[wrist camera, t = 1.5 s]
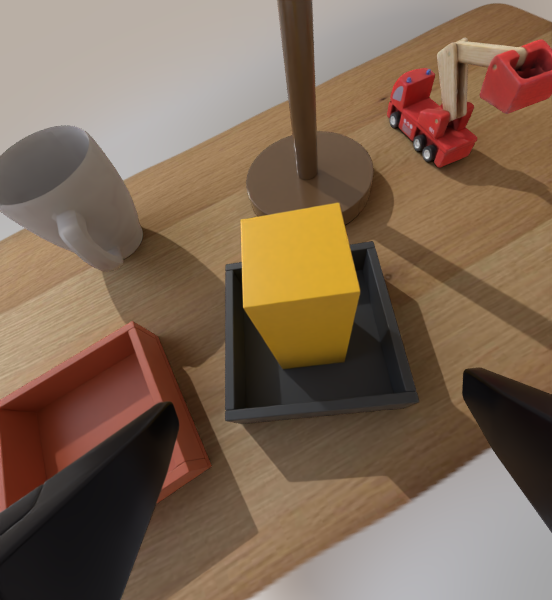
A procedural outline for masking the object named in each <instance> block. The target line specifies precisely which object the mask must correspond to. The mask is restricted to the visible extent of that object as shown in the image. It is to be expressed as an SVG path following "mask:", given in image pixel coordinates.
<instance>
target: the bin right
mask: <svg viewBox="0 0 552 600" xmlns="http://www.w3.org/2000/svg"><path fill="white" fill-rule="evenodd" d="M350 249H351V254H352V258H353V262H354V266H355V270H356V274H357V279H358V283H359V287H360V295H359V300H358V304H357V308H356V313H355V317H354V322H353V326H352V331H351V335H350V340H349V344H348V349H347V353H346V358H345V362H341V363H332V364H324V365H315V366H307V367H298V368H289V369H282V367H281V366H280V364H279V363H278V361H277V360H276V358H275V357H274V355H273V353H272V352H271V350H270V349H269V347H268V346H267V344H266V343H265V341H264V339H263V338H262V336H261V335H260V333H259V332H258V330H257V329H256V327H255V325H254V324H253V322H252V321H251V319H250V318H249V316H248V314H247V313H246V311H245V310H244V308H243V286H242V262H239V263H233V264H227V265H226V274H225V410H226V411H225V420H226V421H228V422H234V423H240V424H246V423H256V422H266V421H277V420H287V419H298V418H308V417H318V416H329V415H339V414H349V413H360V412H370V411H381V410H391V409H401V408H406V407H408V406H411V405H413V404H416V403H418V402H419V398H418V395H417V392H416V388H415V384H414V381H413V377H412V374H411V370H410V367H409V363H408V360H407V357H406V353H405V350H404V346H403V343H402V339H401V336H400V332H399V329H398V325H397V322H396V318H395V315H394V311H393V308H392V304H391V301H390V298H389V294H388V291H387V287H386V284H385V280H384V277H383V273H382V270H381V266H380V263H379V259H378V256H377V252H376V249H375V245H374V242H373V241H371V242H364V243H358V244H352V245H350Z"/></svg>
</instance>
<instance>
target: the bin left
mask: <svg viewBox="0 0 552 600" xmlns="http://www.w3.org/2000/svg"><path fill="white" fill-rule="evenodd" d="M166 401H170V402H172V403H173V405H174V408H175V411H176V414H177V416H178V419H179V431H178V435H177V439H176V443H175V446H174V450H173V454H172V458H171V461H170V465H169V469H168V472H167V476H166V479H165V481H164V484H163V487H162V490H161V492H160V495H159V498H158V500H157V503H159V502H160V501H162V500H163V499H164V498H166V497H167V496H169V495H170V494H172V493H173V492H175V491H176V490H178V489H179V488H181V487H182V486H184V485H185V484H187V483H188V482H190V481H191V480H192V479H194V478H195V477H197V476H198V475H200V474H201V473H203V472H204V471H206V470H207V469H209V468H210V467H211V466H212V465H211V463H210V461H209V458H208V456H207V453H206V451H205V449H204V446H203V444H202V441H201V439H200V437H199V434H198V432H197V429H196V427H195V425H194V422H193V420H192V417H191V415H190V412H189V410H188V408H187V405H186V403H185V400H184V398H183V396H182V393H181V391H180V388H179V386H178V384H177V381H176V379H175V376H174V374H173V372H172V369H171V367H170V364H169V362H168V360H167V357H166V355H165V352H164V350H163V348H162V345H161V343H160V340H159V338H158V336H157V335H155V334H153V333H152V332H150V331H148V330H147V329H145V328H143V327H142V326H140V325H138V324H137V323H135V322H133V321H131V322H130V323H128V324H126V325H125V326H123V327H121V328H120V329H118V330H116V331H115V332H113V333H111V334H110V335H108V336H106V337H105V338H103V339H101V340H100V341H98V342H96V343H94V344H93V345H91V346H89V347H88V348H86V349H84V350H83V351H81V352H79V353H78V354H76V355H74V356H73V357H71V358H69V359H68V360H66V361H64V362H63V363H61V364H59V365H58V366H56V367H54V368H53V369H51V370H49V371H48V372H46V373H44V374H43V375H41V376H39V377H38V378H36V379H34V380H33V381H31V382H29V383H27V384H26V385H24V386H22V387H21V388H19V389H17V390H16V391H14V392H12V393H11V394H9V395H7V396H6V397H4V398H2V399H1V400H0V512H2V511H3V510H5V509H6V508H8V507H9V506H11V505H12V504H14V503H15V502H16V501H18V500H19V499H21V498H22V497H24V496H25V495H27V494H28V493H30V492H31V491H32V490H34V489H35V488H37V487H38V486H40V485H41V484H44V483H45V481H47V480H48V479H50V478H51V477H53V476H54V475H55V474H57V473H58V472H60V471H61V470H63V469H64V468H65V467H67V466H68V465H70V464H71V463H73V462H74V461H75V460H77V459H78V458H80V457H81V456H83V455H84V454H85V453H87V452H88V451H90V450H91V449H93V448H94V447H95V446H97V445H98V444H100V443H101V442H103V441H104V440H105V439H107V438H108V437H110V436H111V435H113V434H114V433H115V432H117V431H118V430H120V429H121V428H123V427H124V426H125V425H127V424H128V423H130V422H131V421H133V420H134V419H135V418H137V417H138V416H140V415H141V414H143V413H144V412H145V411H147V410H148V409H150V408H151V407H153V406H154V405H155V404H157V403H159V402H166ZM157 503H156V504H157Z"/></svg>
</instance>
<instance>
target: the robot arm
mask: <svg viewBox="0 0 552 600" xmlns="http://www.w3.org/2000/svg"><path fill="white" fill-rule="evenodd" d="M462 394H463V398H464V401H465V403H466V404H467V406H468V408H469V409H470V411H471V413H472V415H473V416H474V418H475V420H476V422H477V423H478V425H479V427H480V429H481V430H482V432H483V434H484V436H485V437H486V439H487V441H488V443H489V444H490V446H491V447H492V449H493V451H494V452H495V454H496V455H497V457H498V458H499V459H500V461H501V462H502V464H503V465H504V466H505V468H506V469H507V471H508V472H509V473H510V475H511V476H512V478H513V479H514V481H515V482H516V483H517V485H518V486H519V487H520V489H521V490H522V492H523V493H524V495H525V496H526V497H527V499H528V500H529V501H530V503H531V504H532V506H533V507H534V509H535V510H536V511H537V512H538V514H539V516H540V517H541V518H542V520H543V521H544V522H545V524H546V525H547V527H548V528H549V530H550V531H551V532H552V394H549V393H546V392H544V391H541V390H538V389H536V388H533V387H531V386H528V385H525V384H523V383H520V382H517V381H515V380H512V379H509V378H507V377H504V376H502V375H499V374H496V373H494V372H491V371H488V370H486V369H483V368H470V369H466V370H465V371H464V373H463V390H462ZM178 431H179V419H178V416H177V414H176V411H175V408H174V405H173V403H172V402H170V401H166V402H159V403H157V404H155V405H154V406H153V407H151V408H150V409H148V410H147V411H145V412H144V413H143V414H141V415H140V416H138V417H137V418H135V419H134V420H133V421H131V422H130V423H128V424H127V425H125V426H124V427H123V428H121V429H120V430H118V431H117V432H115V433H114V434H113V435H111V436H110V437H108V438H107V439H105V440H104V441H103V442H101V443H100V444H98V445H97V446H95V447H94V448H93V449H91V450H90V451H88V452H87V453H85V454H84V455H83V456H81V457H80V458H78V459H77V460H75V461H74V462H73V463H71V464H70V465H68V466H67V467H65V468H64V469H63V470H61V471H60V472H58V473H57V474H55V475H54V476H53V477H51V478H50V479H48V480H47V481H45V483H44V484H41V485H40V486H38V487H37V488H35V489H34V490H32V491H31V492H30V493H28V494H27V495H25V496H24V497H22V498H21V499H19V500H18V501H16V502H15V503H14V504H12V505H11V506H9V507H8V508H6V509H5V510H3V511H2V512H0V600H121V597H122V595H123V592H124V589H125V587H126V584H127V581H128V579H129V576H130V573H131V570H132V568H133V565H134V562H135V560H136V557H137V554H138V552H139V549H140V546H141V544H142V541H143V538H144V535H145V533H146V530H147V527H148V525H149V522H150V519H151V517H152V514H153V511H154V509H155V506H156V503H157V500H158V498H159V495H160V492H161V490H162V487H163V484H164V481H165V479H166V476H167V472H168V469H169V465H170V461H171V458H172V454H173V450H174V446H175V443H176V439H177V435H178Z"/></svg>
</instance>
